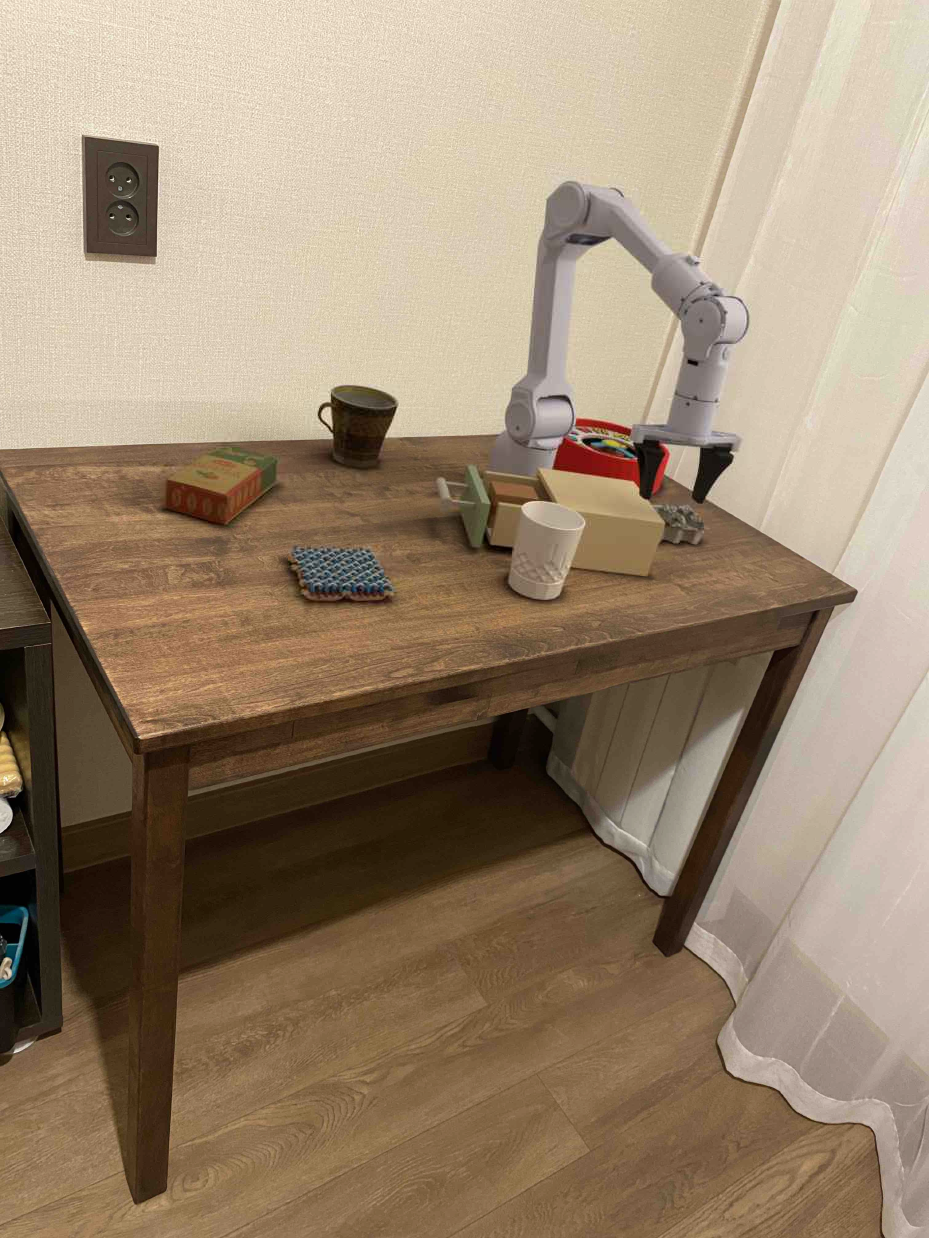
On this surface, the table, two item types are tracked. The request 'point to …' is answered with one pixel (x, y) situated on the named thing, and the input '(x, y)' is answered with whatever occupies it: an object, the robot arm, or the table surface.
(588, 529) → the shallow tan box
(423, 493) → the table surface
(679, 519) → the egg carton
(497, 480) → the drawer
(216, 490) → the carton
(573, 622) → the table surface
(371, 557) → the woven mat
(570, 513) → the white cup
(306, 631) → the table surface
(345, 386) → the ceramic cup
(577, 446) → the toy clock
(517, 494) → the packet
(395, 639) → the table surface
